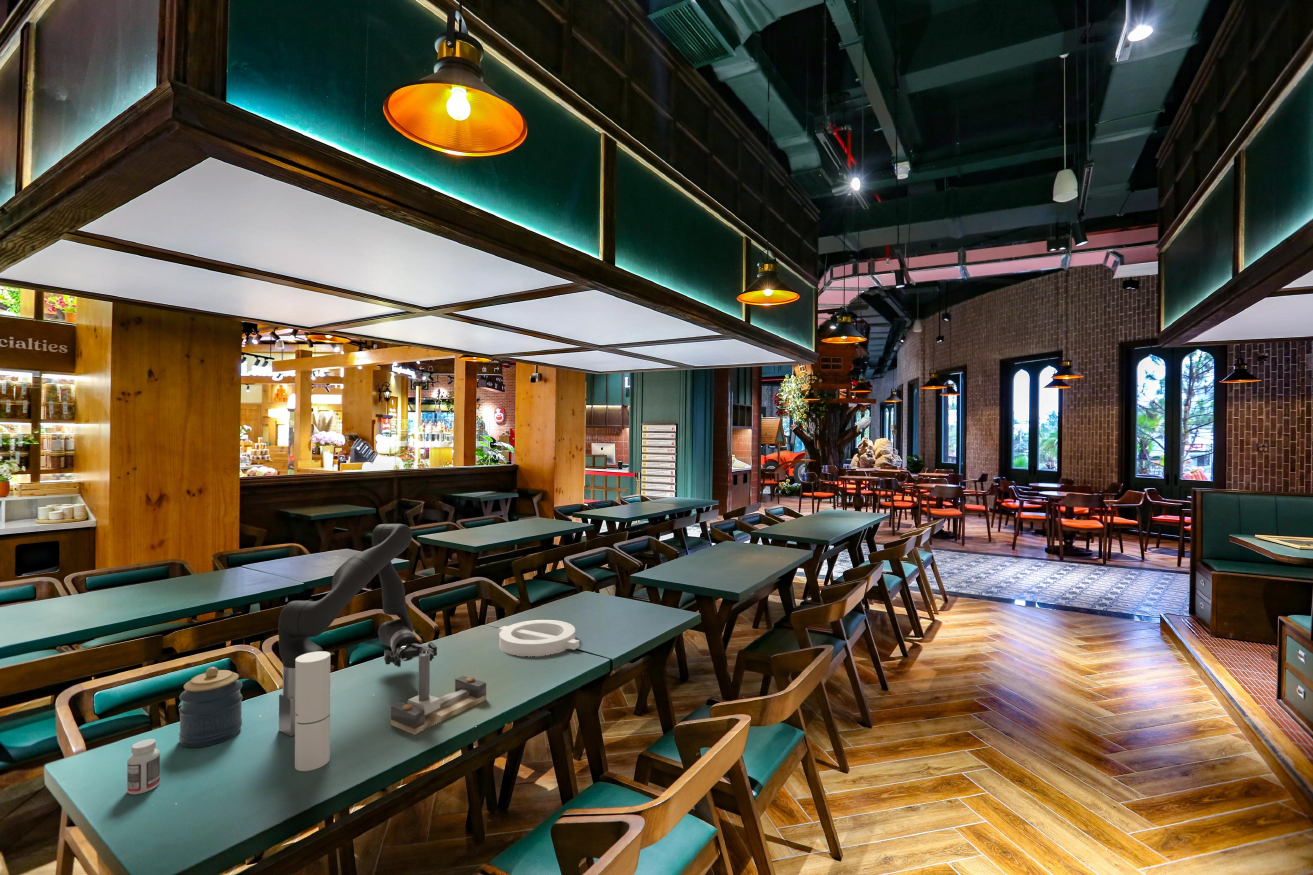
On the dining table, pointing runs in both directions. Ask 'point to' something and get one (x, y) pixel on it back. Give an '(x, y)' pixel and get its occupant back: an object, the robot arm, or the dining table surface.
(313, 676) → the cylindrical container
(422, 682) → the carriage
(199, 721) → the canister
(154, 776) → the pill bottle
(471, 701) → the rail
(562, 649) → the white circle with bar
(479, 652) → the dining table surface
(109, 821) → the dining table surface
